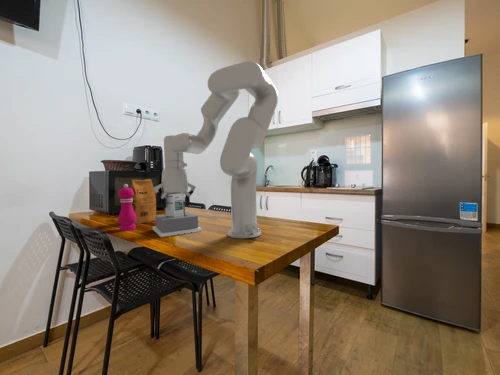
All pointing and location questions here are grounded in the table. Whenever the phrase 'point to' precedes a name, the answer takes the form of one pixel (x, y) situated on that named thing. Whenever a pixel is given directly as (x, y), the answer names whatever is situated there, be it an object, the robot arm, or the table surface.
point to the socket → (176, 225)
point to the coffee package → (143, 201)
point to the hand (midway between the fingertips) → (175, 206)
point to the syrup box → (175, 205)
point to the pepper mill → (126, 209)
